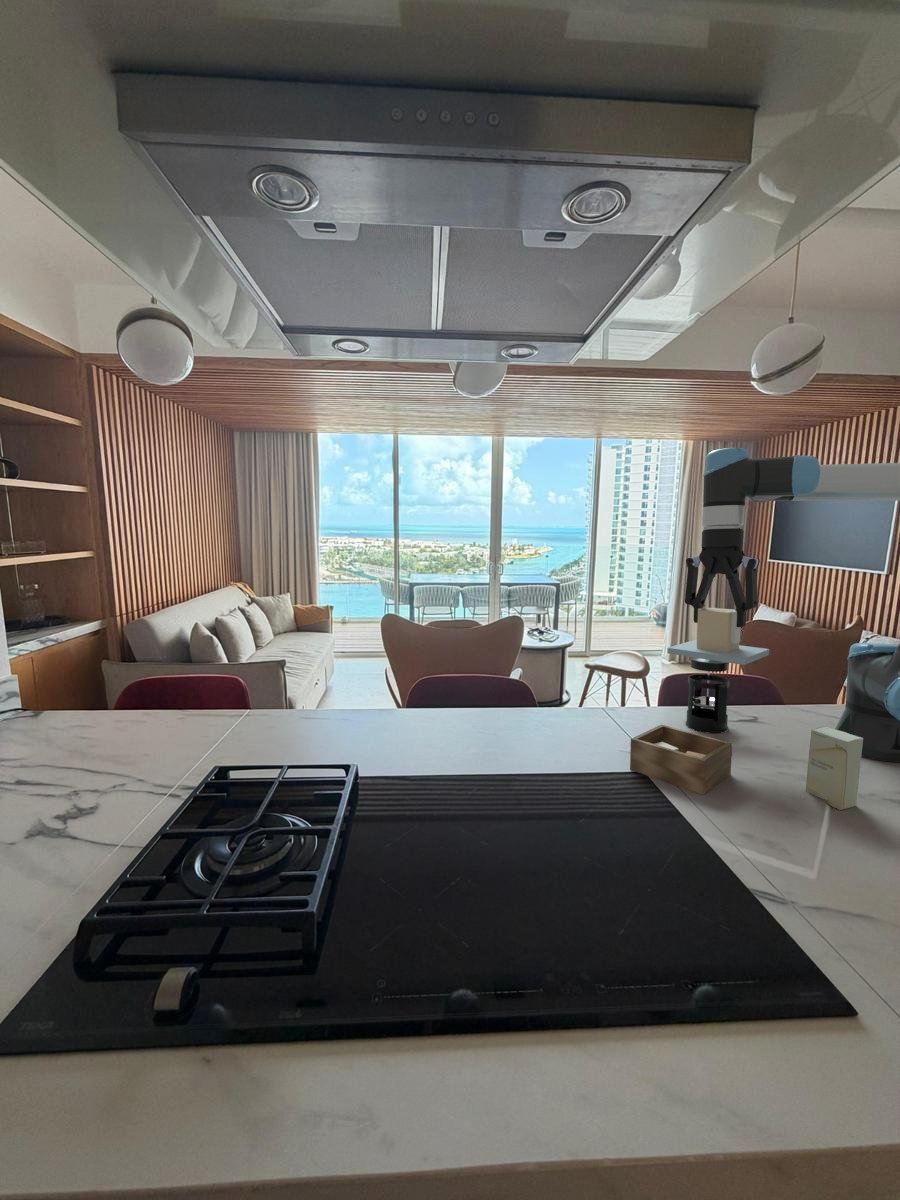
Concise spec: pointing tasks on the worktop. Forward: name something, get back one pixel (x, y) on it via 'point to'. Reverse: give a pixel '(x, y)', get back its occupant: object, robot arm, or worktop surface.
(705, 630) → the lid
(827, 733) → the skincare box
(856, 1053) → the worktop surface
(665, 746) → the cube cream
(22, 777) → the worktop surface
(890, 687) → the robot arm
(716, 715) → the french press
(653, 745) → the box
